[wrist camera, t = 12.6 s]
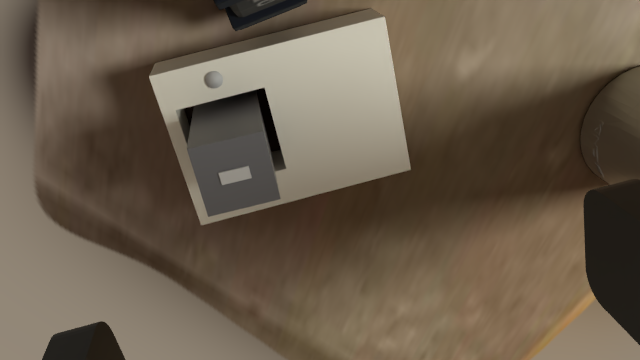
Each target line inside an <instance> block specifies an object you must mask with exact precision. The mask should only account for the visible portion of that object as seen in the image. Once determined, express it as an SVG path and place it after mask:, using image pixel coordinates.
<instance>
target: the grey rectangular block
mask: <svg viewBox="0 0 640 360" xmlns="http://www.w3.org/2000/svg"><path fill="white" fill-rule="evenodd" d="M187 151H188V155H189V158H190V161H191V164H192V167H193V170H194V173H195V177H196V180H197V183H198V186H199V189H200V192H201V196H202V199H203V202H204V205H205V208H206V211H207V215H208V217H210V216H214V215H218V214H222V213H226V212H230V211H234V210H239V209H243V208H247V207H251V206H255V205H259V204H263V203H267V202H271V201H275V200H279V199H281V198H280V193H279V188H278V183H277V178H276V173H275V168H274V163H273V158H272V153H271V148H270V143H269V139H268V135H267V131H266V127H265V123H264V119H263V115H262V111H261V107H260V103H259V99H258V95H257V91H256V90H253V91H249V92H245V93H241V94H237V95H234V96H230V97H226V98H222V99H218V100H214V101H210V102H206V103H202V104H199V105H195V106H194V108H193V114H192V120H191V127H190V133H189V139H188V145H187Z"/></svg>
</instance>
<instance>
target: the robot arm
mask: <svg viewBox="0 0 640 360" xmlns="http://www.w3.org/2000/svg"><path fill="white" fill-rule="evenodd" d="M580 143H581V149H582V155H583V157H584V159H585V162H586V164H587V165H588V167H589V168H590V169H591V170H592V172H593V173H595V174H596V175H597V176H599V177H600V178H601V179H603V180H604V181H606V182H607V183H609V184H610V185H608V186H604V187H600V188H597V189H593V190H590V191H588V192H587V194H586V195H585V198H584V230H585V259H586V273H587V278H588V281H589V284H590V287H591V289H592V292H593V294H594V296H595V297H596V299H597V300H598V302H599V303H600V304H601V306H602V307H603V308H604V309H605V310H606V311H607V312H608V313H609V314H610V315H611V316H612V317H613V318H614V319H615V320H616V321H617V322H618V323H619V324H620V325H621V326H622V327H623V328H624V329H625V330H626V331H627V332H628V333H629V334H630V336H631V337H632V338H633V339H634V340H635V341H636V342H638V344H639V345H640V67H636V68H633V69H631V70H629V71H627V72H625V73H623V74H621V75H619V76H618V77H617V78H615V79H614V80H612V81H611V82H610V83H609V84H608V85H607V86H606V87H605V88H604V89H603V90H602V91H601V92H600V93H599V94H598V95H597V97H596V98H595V99H594V101H593V102H592V104H591V105H590V107H589V109H588V112H587V114H586V116H585V118H584V122H583V125H582V129H581V141H580ZM42 360H125V358H124V356H123V353H122V351H121V349H120V347H119V345H118V343H117V341H116V338H115V336H114V334H113V332H112V330H111V329H110V327H109V326H108V325H107V324H106V323H105V322H97V323H94V324H90V325H87V326H83V327H79V328H75V329H72V330H68V331H64V332H61V333H57V334H55V335H53V337H52V338H51V340H50V342H49V344H48V347H47V349H46V351H45V354H44V356H43V359H42Z"/></svg>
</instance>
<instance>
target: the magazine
mask: <svg viewBox="0 0 640 360" xmlns="http://www.w3.org/2000/svg"><path fill="white" fill-rule="evenodd" d="M214 2H215V4H216V6H217V7H218V9H219V10H221V9H224V8H225V10H226V12H227V15H228V17H229V20H230V22H231V25H232V27H233V29H234V30H235V31H238V30H242V29H244V28H247V27H249V26H252V25H254V24H257V23H259V22H262V21H264V20H267V19H269V18H272V17H274V16H277V15H279V14H282V13H284V12H287V11H289V10H292V9H294V8H297V7H299V6H301V5H303V4H305V3H307V0H214Z"/></svg>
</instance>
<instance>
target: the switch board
mask: <svg viewBox="0 0 640 360" xmlns="http://www.w3.org/2000/svg"><path fill="white" fill-rule="evenodd" d="M149 78H150V81H151V84H152V87H153V90H154V93H155V96H156V98H157V101H158V104H159V107H160V110H161V113H162V115H163V118H164V121H165V124H166V127H167V130H168V132H169V135H170V138H171V141H172V144H173V147H174V150H175V152H176V155H177V158H178V161H179V164H180V167H181V169H182V172H183V175H184V178H185V181H186V184H187V187H188V189H189V192H190V195H191V198H192V201H193V204H194V206H195V209H196V212H197V215H198V218H199V221H200V223H201V225H205V224H209V223H212V222H216V221H220V220H224V219H227V218H231V217H235V216H239V215H243V214H246V213H250V212H254V211H258V210H261V209H265V208H269V207H273V206H276V205H280V204H284V203H288V202H291V201H295V200H299V199H303V198H306V197H310V196H314V195H318V194H321V193H325V192H329V191H333V190H337V189H340V188H344V187H348V186H352V185H355V184H359V183H363V182H367V181H370V180H374V179H378V178H382V177H385V176H389V175H393V174H397V173H400V172H404V171H408V170H411V167H410V161H409V155H408V150H407V144H406V138H405V132H404V126H403V120H402V114H401V108H400V103H399V97H398V91H397V85H396V79H395V73H394V67H393V62H392V56H391V50H390V44H389V38H388V32H387V26H386V21H385V16H383V15H382V14H380V13H378V12H377V11H375V10H373V9H372V8H370V9H366V10H362V11H359V12H355V13H351V14H347V15H343V16H339V17H335V18H331V19H327V20H323V21H319V22H315V23H311V24H307V25H303V26H299V27H295V28H291V29H288V30H284V31H280V32H276V33H272V34H268V35H264V36H260V37H256V38H252V39H248V40H244V41H240V42H236V43H232V44H228V45H224V46H220V47H217V48H213V49H209V50H205V51H201V52H197V53H193V54H189V55H185V56H181V57H177V58H173V59H169V60H165V61H161V62H157V63H155V65H154V67H153V69H152V71H151V73H150V75H149ZM261 88H265V91H266V95H267V99H268V102H269V106H270V110H271V114H272V117H273V121H274V125H275V128H276V132H277V136H278V140H279V143H280V147H281V150H277V151H273V152H271V153H272V158H273V163H274V168H275V173H276V178H277V183H278V188H279V193H280V198H281V199H279V200H275V201H271V202H267V203H263V204H259V205H255V206H251V207H247V208H243V209H239V210H234V211H230V212H226V213H222V214H218V215H214V216H210V217H208V215H207V211H206V208H205V205H204V202H203V199H202V196H201V192H200V189H199V186H198V183H197V180H196V177H195V173H194V170H193V167H192V164H191V161H190V158H189V155H188V151H187V145H188V139H189V133H190V125H189V122H188V119H187V116H186V113H185V110H184V108H187V107H191V106H195V105H199V104H202V103H206V102H210V101H214V100H218V99H222V98H226V97H230V96H234V95H237V94H241V93H245V92H249V91H253V90H257V89H261Z"/></svg>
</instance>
